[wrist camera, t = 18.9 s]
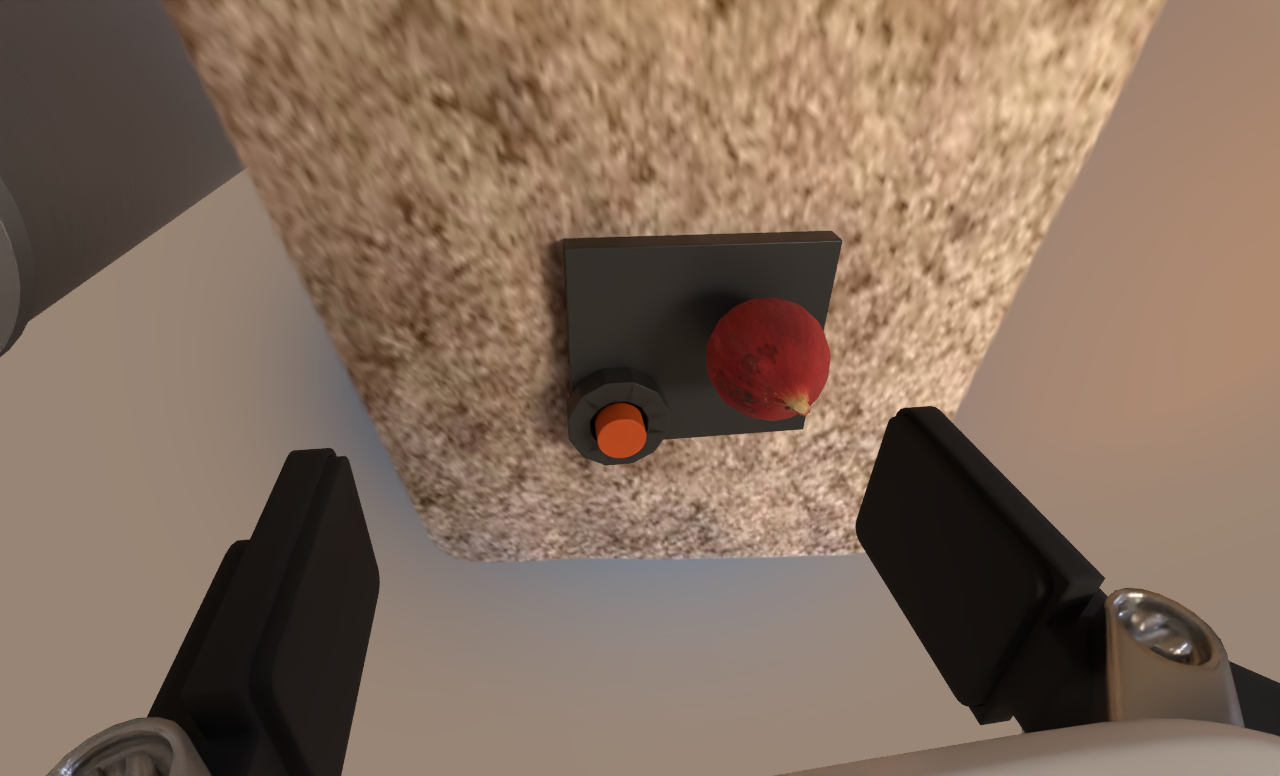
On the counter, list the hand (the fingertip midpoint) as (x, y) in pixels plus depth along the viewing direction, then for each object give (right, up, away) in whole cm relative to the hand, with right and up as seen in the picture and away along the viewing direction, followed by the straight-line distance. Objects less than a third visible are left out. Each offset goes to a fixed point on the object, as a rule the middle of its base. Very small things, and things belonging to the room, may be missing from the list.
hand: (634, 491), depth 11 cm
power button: (-1, 0, +23) cm, 23 cm away
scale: (+3, +5, +24) cm, 25 cm away
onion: (+6, +5, +23) cm, 24 cm away
